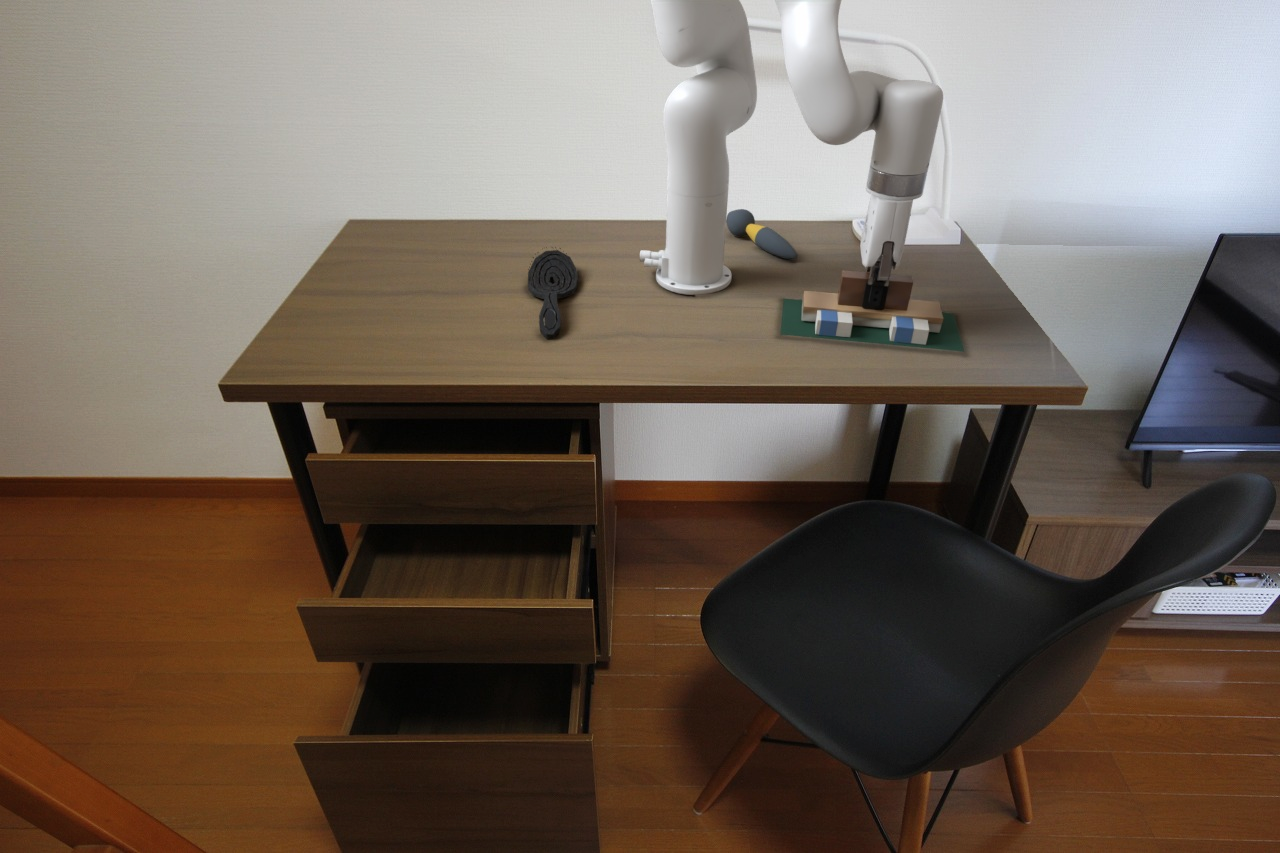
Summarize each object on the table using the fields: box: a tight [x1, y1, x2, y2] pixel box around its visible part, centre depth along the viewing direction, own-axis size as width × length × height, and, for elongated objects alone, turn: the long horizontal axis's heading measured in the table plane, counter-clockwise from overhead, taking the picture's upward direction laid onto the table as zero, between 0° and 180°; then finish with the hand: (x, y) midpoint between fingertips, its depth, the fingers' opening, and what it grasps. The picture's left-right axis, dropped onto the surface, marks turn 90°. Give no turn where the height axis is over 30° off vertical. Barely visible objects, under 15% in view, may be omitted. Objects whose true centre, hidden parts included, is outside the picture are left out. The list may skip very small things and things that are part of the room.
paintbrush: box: [726, 208, 798, 261], centre depth 141 cm, size 20×5×5 cm, turn 38°
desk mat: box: [779, 298, 966, 353], centre depth 117 cm, size 26×12×1 cm, turn 79°
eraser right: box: [889, 316, 929, 345], centre depth 113 cm, size 5×3×2 cm, turn 77°
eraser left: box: [815, 310, 853, 337], centre depth 115 cm, size 5×3×2 cm, turn 80°
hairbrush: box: [527, 246, 579, 340], centre depth 123 cm, size 8×4×25 cm
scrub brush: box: [802, 270, 943, 333], centre depth 116 cm, size 20×5×7 cm, turn 80°
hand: (872, 302), depth 116 cm, fingers closed on scrub brush, 2 cm apart
